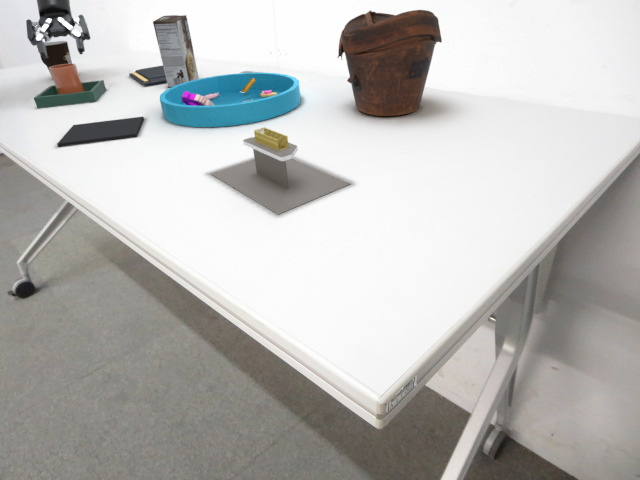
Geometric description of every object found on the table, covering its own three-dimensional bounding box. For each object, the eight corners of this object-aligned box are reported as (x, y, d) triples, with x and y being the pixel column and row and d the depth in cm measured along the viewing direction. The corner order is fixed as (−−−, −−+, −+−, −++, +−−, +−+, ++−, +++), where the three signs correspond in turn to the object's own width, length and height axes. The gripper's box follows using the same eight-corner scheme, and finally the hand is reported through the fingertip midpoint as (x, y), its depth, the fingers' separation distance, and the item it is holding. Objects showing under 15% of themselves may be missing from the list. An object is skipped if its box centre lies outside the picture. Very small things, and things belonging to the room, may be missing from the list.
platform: (276, 151, 72) (271, 111, 69) (350, 183, 60) (349, 136, 57) (210, 173, 66) (201, 131, 63) (278, 214, 54) (271, 164, 51)
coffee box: (176, 78, 126) (163, 15, 117) (199, 77, 125) (187, 14, 116) (167, 87, 118) (151, 20, 109) (190, 86, 118) (177, 19, 109)
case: (360, 93, 100) (359, 4, 91) (448, 99, 91) (457, 1, 82) (321, 115, 88) (315, 14, 78) (419, 125, 79) (425, 13, 69)
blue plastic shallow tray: (133, 121, 93) (125, 92, 90) (219, 86, 116) (214, 62, 113) (253, 133, 81) (249, 100, 78) (323, 91, 104) (321, 65, 101)
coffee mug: (66, 73, 147) (55, 41, 142) (84, 74, 144) (73, 41, 138) (34, 81, 138) (20, 47, 133) (52, 83, 135) (39, 47, 130)
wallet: (195, 71, 126) (140, 80, 120) (196, 78, 127) (142, 87, 121) (176, 61, 141) (127, 69, 135) (178, 68, 142) (129, 76, 136)
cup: (58, 102, 112) (45, 69, 108) (64, 97, 117) (52, 65, 113) (83, 99, 113) (71, 66, 109) (88, 94, 118) (77, 62, 114)
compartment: (37, 108, 108) (33, 98, 107) (53, 95, 120) (49, 85, 118) (95, 101, 110) (92, 91, 109) (106, 89, 122) (103, 80, 120)
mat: (58, 146, 82) (56, 143, 82) (74, 127, 92) (73, 124, 92) (136, 136, 84) (135, 133, 84) (144, 119, 94) (143, 116, 94)
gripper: (16, -7, 112) (25, 47, 109) (77, -12, 116) (87, 41, 112) (30, 15, 120) (38, 66, 116) (86, 9, 123) (96, 60, 120)
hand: (62, 54), depth 114 cm, fingers open, 8 cm apart
